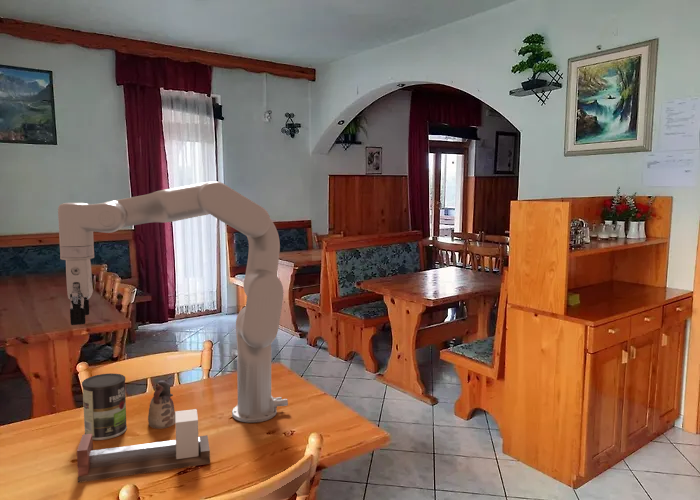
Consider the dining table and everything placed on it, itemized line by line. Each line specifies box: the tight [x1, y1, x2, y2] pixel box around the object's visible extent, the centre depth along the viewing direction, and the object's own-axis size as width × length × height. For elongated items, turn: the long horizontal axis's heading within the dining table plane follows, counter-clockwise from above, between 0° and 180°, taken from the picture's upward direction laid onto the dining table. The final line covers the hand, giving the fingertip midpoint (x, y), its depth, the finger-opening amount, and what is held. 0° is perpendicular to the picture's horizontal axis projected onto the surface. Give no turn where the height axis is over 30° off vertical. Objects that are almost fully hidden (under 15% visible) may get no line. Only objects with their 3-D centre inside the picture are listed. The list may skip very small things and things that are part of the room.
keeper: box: [175, 408, 199, 459], centre depth 127 cm, size 5×6×9 cm
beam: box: [89, 436, 200, 468], centre depth 124 cm, size 24×2×3 cm, turn 108°
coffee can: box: [81, 372, 128, 441], centre depth 139 cm, size 10×10×14 cm
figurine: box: [147, 380, 176, 430], centre depth 145 cm, size 7×7×12 cm
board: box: [76, 433, 211, 483], centre depth 124 cm, size 28×9×7 cm, turn 108°
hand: (80, 319), depth 134 cm, fingers open, 9 cm apart
